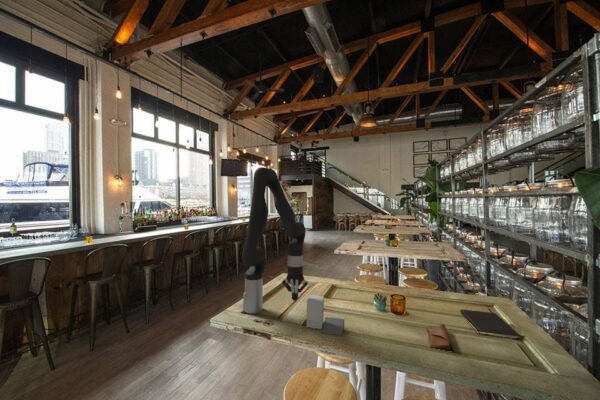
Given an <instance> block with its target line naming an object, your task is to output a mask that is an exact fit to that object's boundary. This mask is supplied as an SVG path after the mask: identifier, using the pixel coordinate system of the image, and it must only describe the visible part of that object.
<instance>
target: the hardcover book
mask: <svg viewBox="0 0 600 400" xmlns="http://www.w3.org/2000/svg"><path fill="white" fill-rule="evenodd" d="M459 312H461V313H460V314H461V315H462V316H463V318H464V319H465V318H466V319H467V320H468V321H469V322H470V323H471V324H472V325H473V326H474V327H475V328H476V329H477V331H478V332H485V333H493V334H499V335H504V336H508V337H519V338H521V334H519V333H518V332H517V331H515V330H514V329H513V328H512V327H511V326H510V324H508V323H507V322H506V321H505V320H503V319H502V318H501V317H500V316H499V315H498V314H497V313H496V312H488V311H481V310H472V309H471V310H470V309H463V308H462V309H460V311H459ZM466 319H465V320H466ZM467 320H466V321H467ZM468 321H467V322H468ZM469 322H468V323H469Z"/></svg>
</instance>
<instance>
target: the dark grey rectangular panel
mask: <svg viewBox="0 0 600 400" xmlns="http://www.w3.org/2000/svg"><path fill="white" fill-rule="evenodd" d="M344 320H345V319H344V318H338V317H337V318H336V317H329V316H327V317H326V316H325V317H324V320H323V325H322V329H321V334H324V333H327V334H328V335H332V334H336V335H335V336H341V335H342V336H343V334H344V333H343V332H344ZM327 334H326V335H327Z"/></svg>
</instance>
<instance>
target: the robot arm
mask: <svg viewBox="0 0 600 400" xmlns="http://www.w3.org/2000/svg"><path fill="white" fill-rule="evenodd" d="M267 187H268V188H269V190H270V192H271V193H272V197H273V201H274V202H273V203H274V207H275V210H276V212H277V214H278V216H279V217H280V219H281V222H282V226H283V230H284V233H285V234H286V236H287V237H289V238H290V239H291V241H290V243H288V246H287V247H288V248H287V249H288V252H287V253H288V254H287V276H286V278H284V279H283V280H282V281H281V283H282V284H283V286H284V287H285V288H286V290H287V291H288V292H290V293H291V300H292V301H294V302H296V301H298V300H299V293H302V291H303V290H304V289H305V288H306V287H307V286H308V284H309V281H308V280H306V279H305V276H304V243H305V239H306V232H307V231H306V230H307V229H306V226H305V224H304V223H303V222H300V221H298V222H296V221H295V219H294V218H295V216H296V214H295V211H294V209H293V208H292V206H291V204H290V202H289V200H288V199H287V197H286V195H285V193H284V189H283V187H282V185H281V182H280V180H279V177H278V174H277V173H276V171H275V169H272V168H269V167H263V166H261V167H260V166H259V167H257V169H255V171H254V173H253V181H252V196H251V204H250V205H251V206H250V210H249V211H250V212H249V218H248V226H247V231H246V237H245V241H244V245H243V248H242V249H243V250H242V256H241V260H242V263H243V265H244V266H246V267H249V268H248V269H247V270H246V271H245V273H244V292H243V294H242V301H243V302H242V304H243V305H242V312H245V313H247V314H251V315H252V314H258V313H261V312H262V311H263V293H264V292H263V291H264V290H263V289H264V288H263V286H264V285H263V284H264V281H263V280H264V279H263V278H264V273H265V267H266V266H265V265H266V253H265V250H264V249H263V248H262V246H258V243H259V239H260V238H261V236H262V235H263V234H262V233H264V231H265V229H266V227H267V223H268V218H269V217H268V216H269V209H268V204H267V201H266V189H267ZM301 284H302V285H301ZM300 285H301V287H300Z"/></svg>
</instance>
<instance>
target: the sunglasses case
mask: <svg viewBox="0 0 600 400" xmlns="http://www.w3.org/2000/svg"><path fill="white" fill-rule="evenodd" d="M446 327H447V326H446V325H445V324H443V323H442V324H440V325H437V326H433V327H428V328H426V331H427V334H428V339H429V348H430V349H433V348H435V349H434V350H438V349H440V350H439V351H442V350H445V351H444V352H447V351H452V353H454V348H453V343H452V341H451V338H450V335H449V332H448V330H447V328H446Z"/></svg>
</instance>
